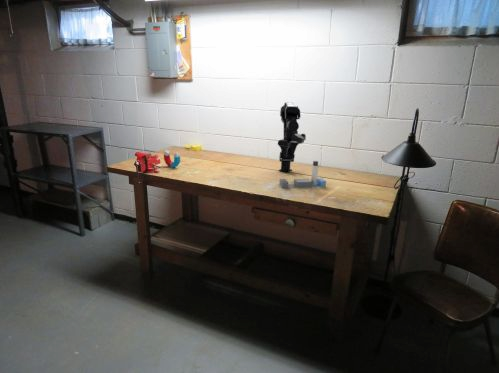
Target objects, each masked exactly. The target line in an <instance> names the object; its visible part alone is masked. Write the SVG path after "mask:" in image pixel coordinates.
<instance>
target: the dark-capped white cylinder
mask: <svg viewBox="0 0 499 373" xmlns="http://www.w3.org/2000/svg"><path fill="white" fill-rule="evenodd" d="M311 167H312V168H311V180H310V181H312V186H316V185H317V178H319V161H318V160H313V161H312V166H311Z"/></svg>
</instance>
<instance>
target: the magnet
mask: <svg viewBox="0 0 499 373" xmlns="http://www.w3.org/2000/svg"><path fill="white" fill-rule="evenodd" d="M170 155H171V151H169V150H168V149H167V150H164V152H163V160H164V162H165V165H167V167H169V168H176V167H179V165H180V163H181V154H180V151H179V152H175V153H173V154H172V155H173V161H172V159H171V156H170Z"/></svg>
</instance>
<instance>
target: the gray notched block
mask: <svg viewBox="0 0 499 373" xmlns="http://www.w3.org/2000/svg"><path fill="white" fill-rule="evenodd" d="M278 184H279V186H280V187H281V188H282V189H298V188H299V189H302V188H325V187H327V186H326V185H327V180H325V179H324V178H323V177H318V178H317V185H316V186H312V181H311V180H310V179H309V178H293V183H292V184H291V183H289V181H288V180H287V179H286V178H281V179H279V183H278Z"/></svg>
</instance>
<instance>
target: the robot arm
mask: <svg viewBox="0 0 499 373" xmlns="http://www.w3.org/2000/svg"><path fill="white" fill-rule="evenodd" d="M279 116H280V121H281V122H282V124H283V138H282V139H279V140H278V141H277V146H278V147H279V148H280V152H279V155H278V159H279V160H278V161H279V163H280V168H279V169H278V171H279V172H285V173H289V172H292V171H293V169H291V163H294V161H295V158H296V157H295V156H296V155H295V152H296V150H297V147H298V146H299V144H304V142H305V141H306V138H307V137H306V133H298V132H299V131H298V129H299V127H300V125H299V122H298V120H300V119H301V110H300V108H299V105H294V102H289V101H286V102H284V104H283V105H282V106H280V112H279Z"/></svg>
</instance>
